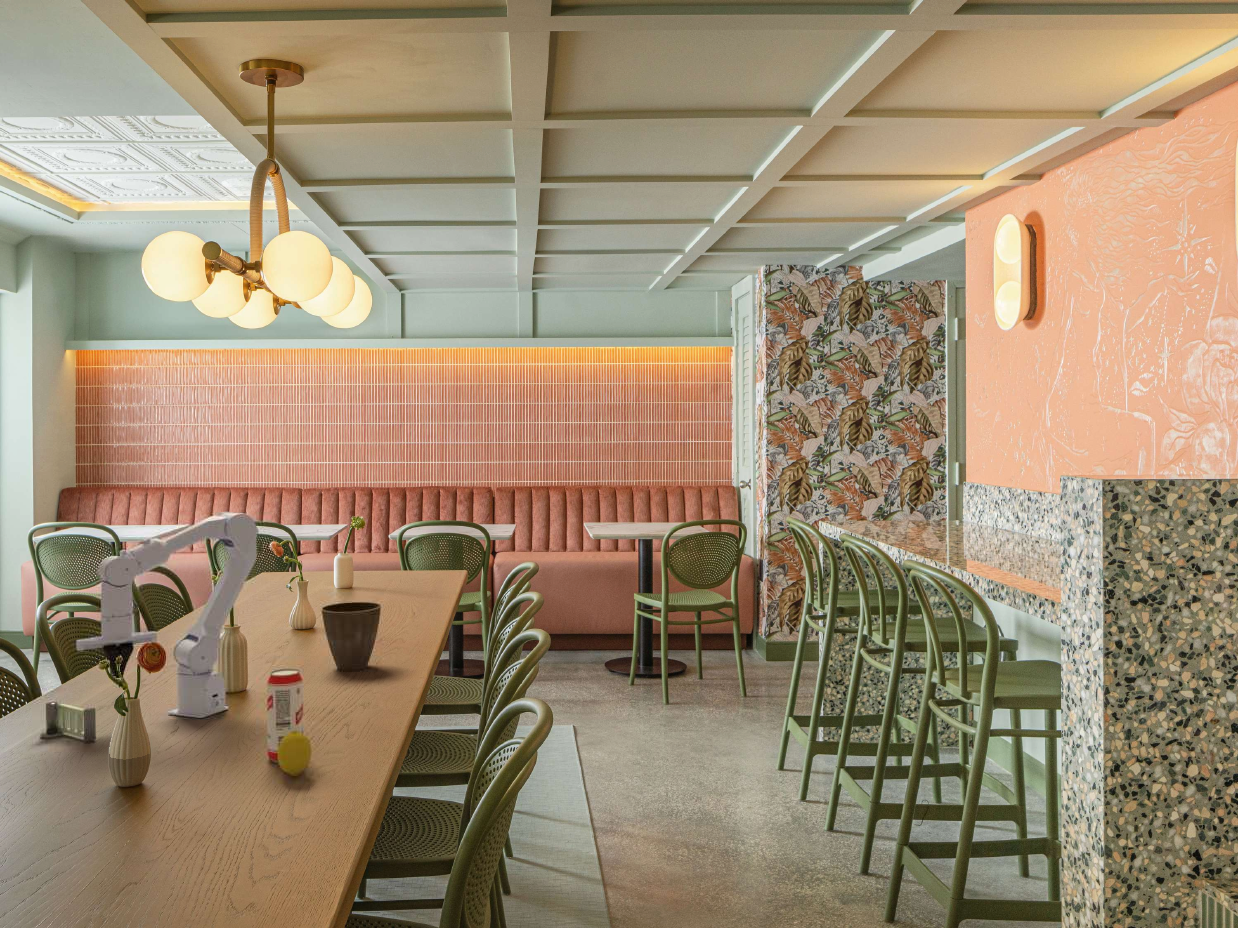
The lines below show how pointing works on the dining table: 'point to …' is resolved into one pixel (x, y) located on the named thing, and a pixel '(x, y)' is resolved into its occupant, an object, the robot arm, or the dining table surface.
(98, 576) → the robot arm
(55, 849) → the dining table surface
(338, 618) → the plant pot
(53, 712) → the post
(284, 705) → the beer can
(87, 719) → the gate
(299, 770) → the lemon
